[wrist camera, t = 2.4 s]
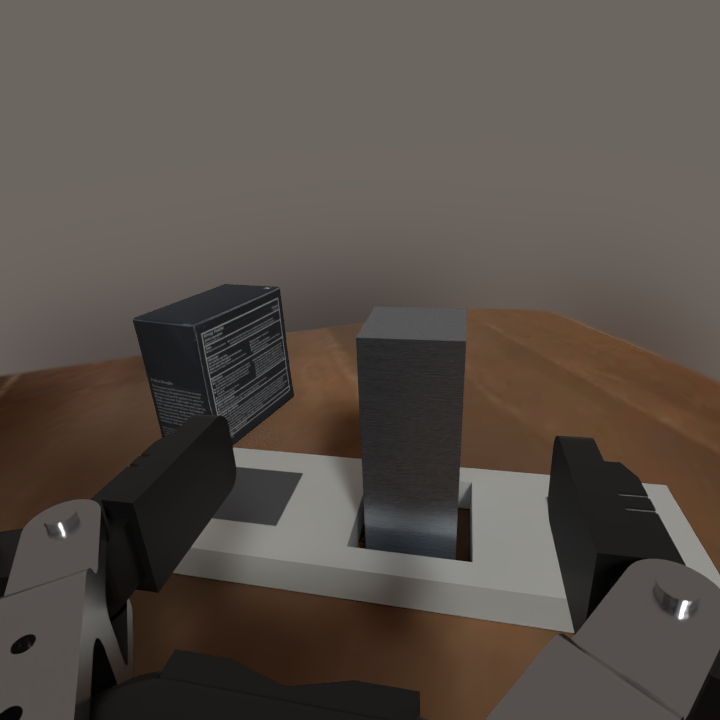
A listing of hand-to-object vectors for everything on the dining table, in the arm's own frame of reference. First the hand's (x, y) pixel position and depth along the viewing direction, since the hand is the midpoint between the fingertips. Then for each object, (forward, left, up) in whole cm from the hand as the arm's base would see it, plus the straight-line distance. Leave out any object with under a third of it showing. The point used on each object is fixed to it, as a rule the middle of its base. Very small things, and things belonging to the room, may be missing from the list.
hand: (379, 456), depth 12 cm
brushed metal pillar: (0, +11, -13) cm, 17 cm away
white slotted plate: (0, +11, -13) cm, 17 cm away
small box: (-17, +23, -14) cm, 32 cm away
